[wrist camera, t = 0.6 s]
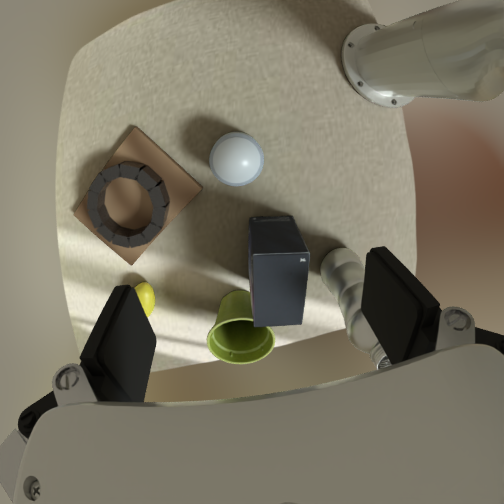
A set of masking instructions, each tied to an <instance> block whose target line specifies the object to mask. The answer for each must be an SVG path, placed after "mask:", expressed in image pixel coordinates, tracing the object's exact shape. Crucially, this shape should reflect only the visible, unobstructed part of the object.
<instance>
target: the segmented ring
mask: <svg viewBox="0 0 504 504" xmlns="http://www.w3.org/2000/svg"><path fill="white" fill-rule="evenodd" d="M145 166H146V164H143V163H138V162H133V161H123V162H121V163H118V164H116V165H114V166H111V167H109V168H107V169H105V170H103V171H101V172H100V173H99V174H98V176H97V177H96V178H95V180H94V181H93V183H92V184H91V186H90V188H89V189H90V190H88V200H87V209H89V211H87V212H88V214H89V217H90V219H91V221H92V224H93V226H94V228H98V229H97V230H96V231H97V232H98V233H99V234H100V235H102V236H103V237H104V238H105V239H106V240H107V241H108V242H111V241H112V244H114V245H118V246H122V247H126V248H129V247H131V248H134V247H137V246H141V245H144V244H148V242H150V241H151V240H152V239H153V238H154V237H155V236H156V235H157V234H158V233H159V231H160V230H161V229H162V227H163V226H164V224H165V222H166V220H167V216H168V211H169V205H170V201H169V200H170V197H169V194H168V191H167V188H166V186H165V182H164V181H161V180H162V178H161V177H160V176H159V175H158V174H157V173H156V172H155V171H154V170H153V169H152V168H150V167H149V166H146V167H145ZM119 177H122V178H127V179H132V180H136V181H137V182H138V183H139V184H140V185H141V186H142V187H143V188H145V189H146V190H147V191H148V193H149V196H150V199H151V202H152V205H153V212H152V219H151V221H150V223H149V224H148V225H147V226H144V227H141V228H137V229H130V228H126V227H121V226H120V225H119V224H117V223H116V222H115V221H114V220H113V219H112V218H111V217H110V216H109V213H108V211H107V208H106V206H105V194H106V188H107V187H108V186H109V184H110V183H111V182H112V180H114V179H117V178H119ZM160 181H161V182H160Z"/></svg>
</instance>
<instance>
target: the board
mask: <svg viewBox="0 0 504 504" xmlns="http://www.w3.org/2000/svg"><path fill="white" fill-rule="evenodd" d="M123 161H133V162H138V163H143V164H146V166H149V167H150V168H152V169H153V170H154V171H155V172H156V173H157V174H158V175H159V176H160V177H161V178H162V180H161V181H164V182H165V186H166V188H167V191H168V194H169V197H170V200H169V201H170V205H169V211H168V216H167V220H166V222H165V224H164V226H163V227H162V229H161V230H160V231H159V233H158V234H157V235H156V236H155V237H154V238H153V239H152V240H151V241H150V242H148V244H144V245H141V246H137V247H134V248H131V247H129V248H126V247H122V246H118V245H114V244H112V241H111V242H108V241H107V240H106V239H105V238H104V237H103V236H102V235H100V234H99V233H98V232H97V231H96V230H97V229H98V228H94V226H93V224H92V221H91V219H90V217H89V214H88V212H87V211H89V209H87V200H88V192H87V194H86V195H85V197H84V198H83V200H82V202H81V203H80V205H79V206H78V208H77V210H76V211H75V213H74V216H75V217H76V218H77V219H78V220H79V221H80V222H82V223H83V224H84V225H85V226H86V227H87V228H88V229H89V230H90V231H91V232H93V233H94V234H95V235H96V236H97V237H98V238H99V239H100V240H102V241H103V242H104V243H105V244H106V245H107V246H109V247H110V248H111V249H112V250H113V251H114V252H116V253H117V254H118V255H119V256H120V257H122V258H123V259H124V260H125V261H126V262H128V263H129V264H130V265H131V266H132V265H133V264H134V262H135V261H136V260H137V259H138V258H139V257H140V255H141V254H142V253H143V252H144V251H145V250H146V249H147V247H148V246H149V245H150V244H151V243H152V242H153V241H154V240H155V238H156V237H157V236H158V235H159V234H160V233H161V232H162V231H163V230H164V228H165V227H166V226H167V225H168V224H169V223H170V222H171V221H172V220H173V219H174V218H175V217H176V216H177V214H178V213H179V212H180V211H181V210H182V209H183V208H184V207H185V206H186V205H187V204H188V203H189V202H190V201H191V200H192V199H193V198H194V197H195V196H196V195H197V194H198V193H199V192H200V191H201V190H202V188H203V187H202V186H201V185H200V184H199V183H198V182H197V181H196V180H195V179H194V178H193V177H192V176H191V175H189V174H188V173H187V172H186V171H185V170H184V169H183V168H182V167H181V166H180V165H179V164H178V163H177V162H175V161H174V160H173V159H172V158H171V157H170V156H169V155H168V154H167V153H166V152H165V151H163V150H162V149H161V148H160V147H159V146H158V145H157V144H156V143H155V142H154V141H153V140H151V139H150V138H149V137H148V136H147V135H146V134H145V133H144V132H143V131H142V130H140V129H139V128H138V127H135V128H134V129H133V130H132V131H131V133H130V134H129V135H128V136H127V138H126V139H125V140H124V141H123V143H122V144H121V145H120V147H119V148H118V149H117V150H116V152H115V153H114V154H113V156H112V157H111V159H110V160H109V161H108V163H107V164H106V165H105V167H104V168H103V170H105V169H107V168H109V167H111V166H114V165H116V164H118V163H121V162H123ZM146 166H145V167H146ZM103 170H102V171H103ZM161 181H160V182H161ZM89 190H90V189H89ZM105 206H106V208H107V211H108V213H109V216H110V217H111V218H112V219H113V220H114V221H115V222H116V223H117V224H119V225H120V226H121V227H126V228H130V229H137V228H141V227H144V226H147V225H148V224H149V223H150V221H151V219H152V212H153V205H152V202H151V199H150V196H149V193H148V191H147V190H146V189H145V188H143V187H142V186H141V185H140V184H139V183H138V182H137V181H136V180H132V179H127V178H122V177H119V178H117V179H114V180H112V182H111V183H110V184H109V186H108V187H107V188H106V194H105Z"/></svg>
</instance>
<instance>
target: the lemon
mask: <svg viewBox="0 0 504 504" xmlns="http://www.w3.org/2000/svg"><path fill="white" fill-rule="evenodd" d="M134 289H135V290H136V292H137V295H138V297H139V300H140V302H141V305H142V307H143V309H144V312H145V314H146V316H147V317H149V316H150V314H151V313H152V311H153V309H154V306H155V295H154V291H153V288H152V287H151V285H150V284H148V283H146V282H143V283H140V284H139V285H137V286H136V287H135V288H134Z"/></svg>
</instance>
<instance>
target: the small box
mask: <svg viewBox="0 0 504 504" xmlns="http://www.w3.org/2000/svg"><path fill="white" fill-rule="evenodd" d="M248 235H249V240H248V244H249V248H248V249H249V283H250V296H251V306H252V315H253V322H254V327H269V326H286V325H301V324H302V320H303V313H304V305H305V297H306V289H307V280H308V271H309V261H310V252H309V250H308V248H307V246H306V244H305V241H304V239H303V237H302V235H301V233H300V231H299V229H298V227H297V225H296V222H295V220H294V217H293V216H279V217H278V216H277V217H276V216H275V217H263V216H261V217H251V218H249V234H248Z"/></svg>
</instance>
